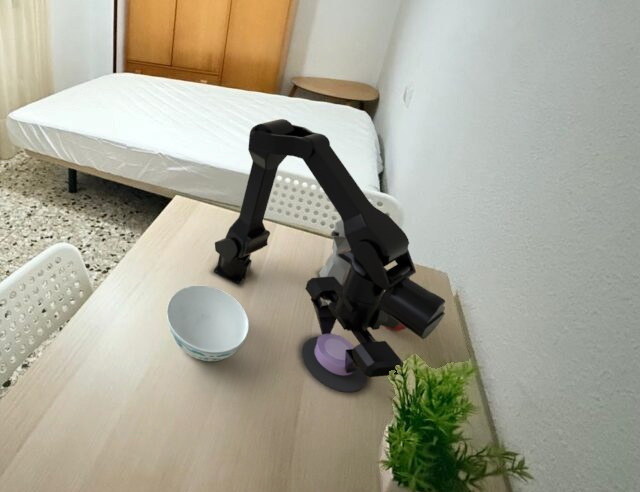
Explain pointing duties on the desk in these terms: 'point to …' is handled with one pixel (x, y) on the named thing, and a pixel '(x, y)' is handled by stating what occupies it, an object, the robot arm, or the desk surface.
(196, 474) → the desk surface
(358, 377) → the coaster
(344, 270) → the coffeepot
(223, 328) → the chinaware
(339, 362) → the purple disc
